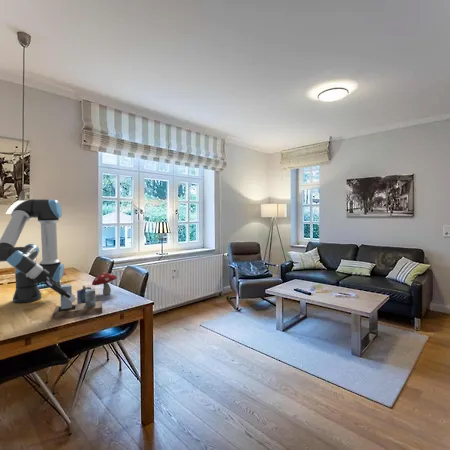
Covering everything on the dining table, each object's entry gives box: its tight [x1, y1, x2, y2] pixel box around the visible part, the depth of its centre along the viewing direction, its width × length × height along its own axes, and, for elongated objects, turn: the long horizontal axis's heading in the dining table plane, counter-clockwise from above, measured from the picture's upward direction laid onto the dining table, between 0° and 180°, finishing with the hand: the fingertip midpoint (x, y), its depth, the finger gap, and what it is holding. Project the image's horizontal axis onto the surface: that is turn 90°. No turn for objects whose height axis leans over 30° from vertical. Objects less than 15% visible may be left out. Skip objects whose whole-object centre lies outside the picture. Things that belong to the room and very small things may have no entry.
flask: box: [76, 285, 92, 304], centre depth 176 cm, size 9×3×11 cm, turn 151°
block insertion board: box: [52, 288, 103, 320], centre depth 160 cm, size 24×12×12 cm, turn 114°
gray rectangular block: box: [60, 284, 73, 309], centre depth 156 cm, size 5×5×12 cm
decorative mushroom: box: [91, 272, 118, 295], centre depth 194 cm, size 16×16×15 cm
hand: (73, 299), depth 159 cm, fingers closed on gray rectangular block, 5 cm apart
